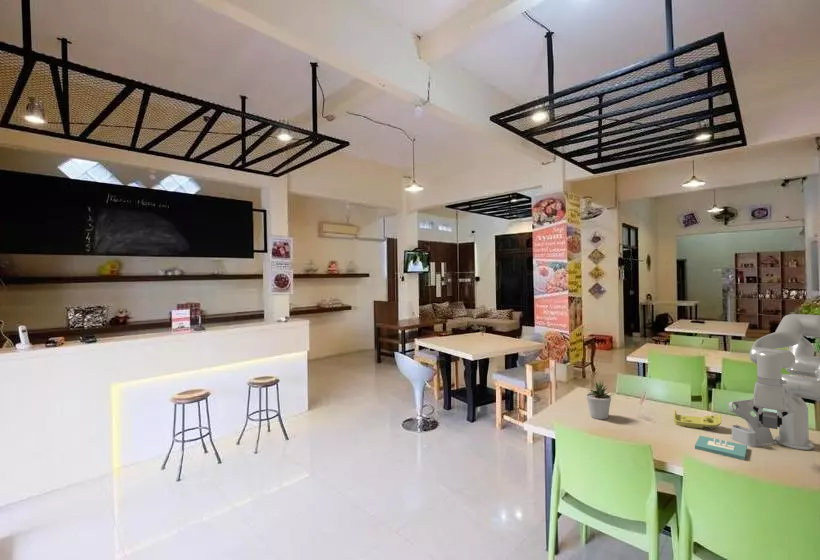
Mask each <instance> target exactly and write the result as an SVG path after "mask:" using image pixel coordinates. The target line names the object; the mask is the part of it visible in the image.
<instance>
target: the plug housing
mask: <svg viewBox="0 0 820 560" xmlns="http://www.w3.org/2000/svg"><path fill="white" fill-rule="evenodd" d="M777 416H778V412H774V411H767V410H763V427H767V428H769V429H773V430H779V427H778V423H777Z"/></svg>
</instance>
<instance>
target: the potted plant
mask: <svg viewBox="0 0 820 560" xmlns="http://www.w3.org/2000/svg"><path fill="white" fill-rule="evenodd" d="M603 382H604V381H603V379H602V382H601V381H599V382H597V380H596V379H595V380H594V382H593V386H594V387H595V390H593V389H591V388H589V389H587V391H589V392H587V394H585V396H586V400H587V406H588V410H589V415H590V416H592V417H591V418H593V419H597V420H606V419H608V417H609V414H610V409H611V408H610V406H611V401H612V396H613V395H614V394H609V392H610V391H608V392H606V391H607V389H608V384H606V385H605V386H604V383H603Z"/></svg>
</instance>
